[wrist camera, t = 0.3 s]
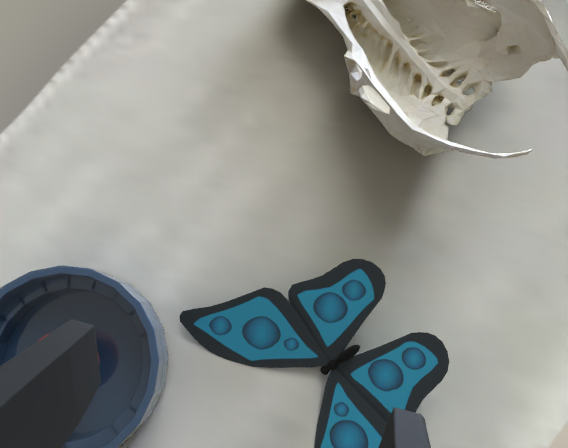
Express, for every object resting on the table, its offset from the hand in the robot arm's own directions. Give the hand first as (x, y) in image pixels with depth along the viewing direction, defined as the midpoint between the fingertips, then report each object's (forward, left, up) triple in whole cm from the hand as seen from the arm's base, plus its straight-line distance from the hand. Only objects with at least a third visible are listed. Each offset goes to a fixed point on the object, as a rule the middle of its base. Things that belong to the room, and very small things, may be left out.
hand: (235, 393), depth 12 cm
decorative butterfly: (+1, -6, -30) cm, 30 cm away
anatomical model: (+28, -2, -30) cm, 41 cm away
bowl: (-7, +12, -30) cm, 33 cm away
